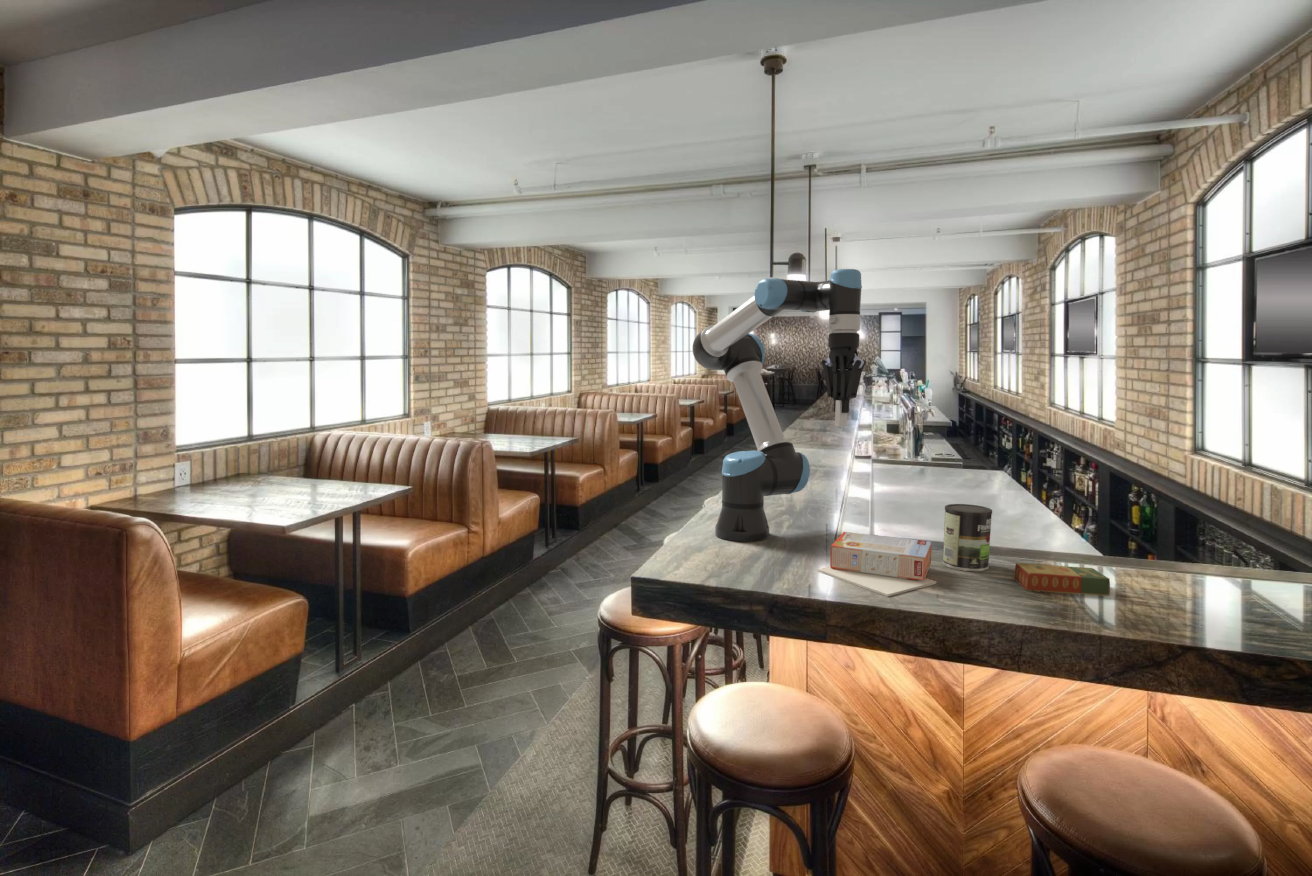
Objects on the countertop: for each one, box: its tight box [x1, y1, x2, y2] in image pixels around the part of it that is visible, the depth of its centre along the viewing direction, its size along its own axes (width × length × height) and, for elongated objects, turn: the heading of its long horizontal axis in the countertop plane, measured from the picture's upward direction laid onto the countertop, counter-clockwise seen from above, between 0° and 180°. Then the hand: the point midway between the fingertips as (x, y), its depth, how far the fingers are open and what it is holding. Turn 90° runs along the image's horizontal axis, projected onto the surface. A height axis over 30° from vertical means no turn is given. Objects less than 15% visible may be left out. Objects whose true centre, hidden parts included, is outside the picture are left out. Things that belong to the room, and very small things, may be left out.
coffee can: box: [942, 503, 993, 573], centre depth 160 cm, size 10×10×14 cm
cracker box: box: [829, 531, 933, 581], centre depth 157 cm, size 14×6×21 cm
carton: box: [1014, 562, 1111, 597], centre depth 145 cm, size 8×16×4 cm, turn 79°
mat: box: [816, 566, 937, 597], centre depth 151 cm, size 20×16×1 cm
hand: (840, 425), depth 171 cm, fingers closed
